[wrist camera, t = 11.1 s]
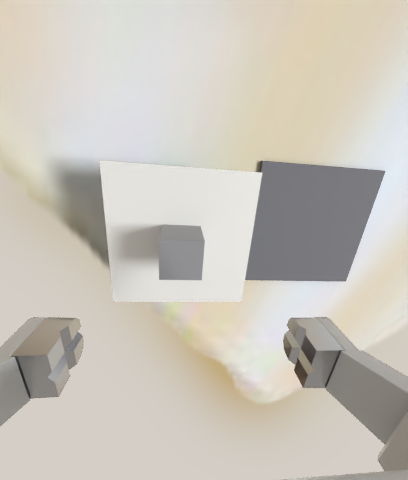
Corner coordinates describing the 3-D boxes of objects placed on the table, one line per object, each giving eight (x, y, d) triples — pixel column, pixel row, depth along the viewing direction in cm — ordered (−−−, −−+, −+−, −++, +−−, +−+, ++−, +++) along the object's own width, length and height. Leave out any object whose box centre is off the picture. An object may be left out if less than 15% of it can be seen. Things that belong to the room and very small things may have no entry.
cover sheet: (257, 172, 17) (282, 175, 13) (238, 295, 21) (252, 328, 17) (104, 160, 15) (75, 159, 11) (116, 295, 20) (98, 331, 15)
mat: (382, 170, 23) (385, 170, 23) (343, 279, 28) (345, 281, 27) (261, 160, 21) (263, 160, 21) (243, 278, 26) (243, 280, 26)
